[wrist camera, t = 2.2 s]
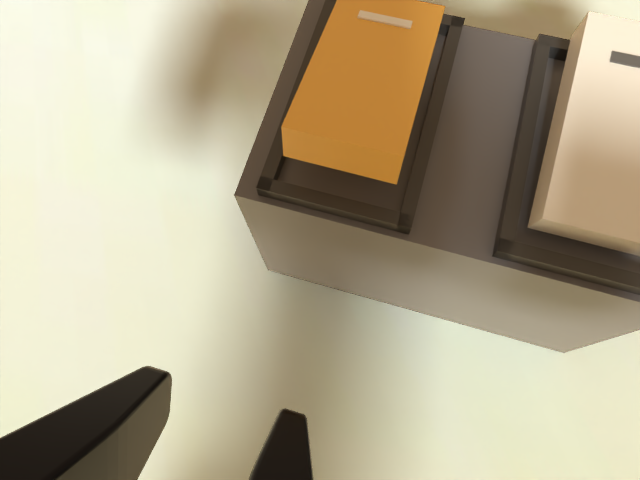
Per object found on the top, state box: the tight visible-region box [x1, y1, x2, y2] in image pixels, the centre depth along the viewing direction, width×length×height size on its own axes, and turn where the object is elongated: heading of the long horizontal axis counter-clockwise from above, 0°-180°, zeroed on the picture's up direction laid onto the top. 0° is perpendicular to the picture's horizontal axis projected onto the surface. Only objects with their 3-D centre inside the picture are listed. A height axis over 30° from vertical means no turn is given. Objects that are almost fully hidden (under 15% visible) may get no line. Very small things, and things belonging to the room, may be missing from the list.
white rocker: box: [527, 11, 640, 256], centre depth 14 cm, size 6×3×1 cm, turn 164°
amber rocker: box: [281, 0, 445, 185], centre depth 15 cm, size 6×3×1 cm, turn 163°
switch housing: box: [234, 0, 640, 353], centre depth 19 cm, size 8×13×8 cm, turn 74°
